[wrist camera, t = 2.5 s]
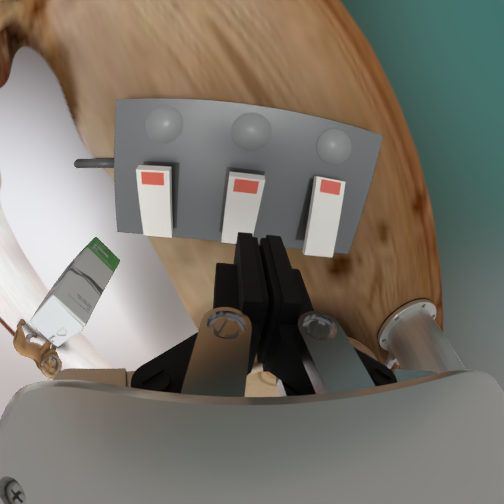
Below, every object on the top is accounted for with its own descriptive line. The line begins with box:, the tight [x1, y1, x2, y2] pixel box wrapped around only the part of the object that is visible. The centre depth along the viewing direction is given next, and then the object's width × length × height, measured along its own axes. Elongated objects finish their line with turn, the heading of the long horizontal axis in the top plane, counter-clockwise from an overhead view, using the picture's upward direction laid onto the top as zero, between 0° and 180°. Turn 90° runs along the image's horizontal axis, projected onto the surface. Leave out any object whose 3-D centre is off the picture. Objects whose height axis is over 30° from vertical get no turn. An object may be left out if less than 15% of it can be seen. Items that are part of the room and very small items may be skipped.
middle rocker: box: [221, 172, 265, 244], centre depth 25 cm, size 8×3×1 cm, turn 172°
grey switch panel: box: [74, 98, 383, 254], centre depth 26 cm, size 14×32×3 cm, turn 82°
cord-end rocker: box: [136, 165, 173, 238], centre depth 24 cm, size 8×3×1 cm, turn 172°
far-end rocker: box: [302, 176, 345, 257], centre depth 26 cm, size 8×3×1 cm, turn 171°
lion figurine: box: [13, 319, 62, 379], centre depth 36 cm, size 15×5×9 cm, turn 77°
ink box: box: [30, 237, 120, 347], centre depth 27 cm, size 9×5×12 cm, turn 124°
